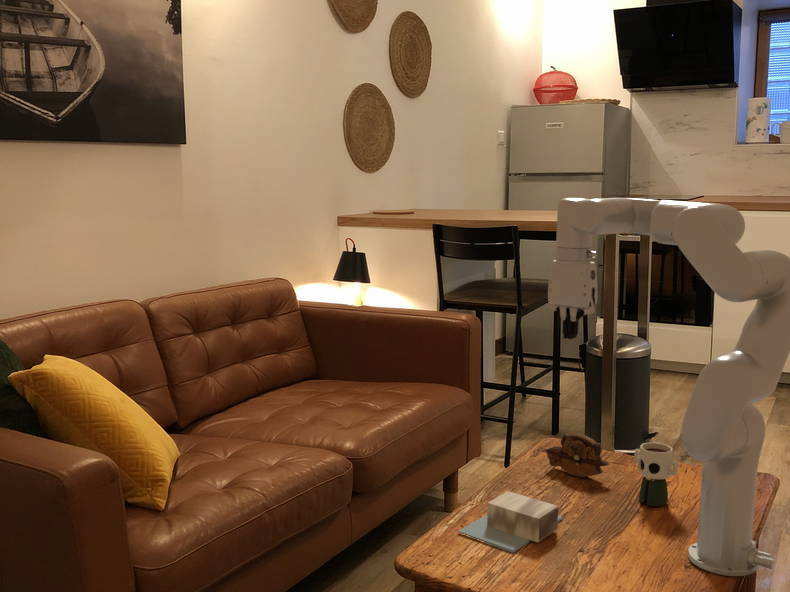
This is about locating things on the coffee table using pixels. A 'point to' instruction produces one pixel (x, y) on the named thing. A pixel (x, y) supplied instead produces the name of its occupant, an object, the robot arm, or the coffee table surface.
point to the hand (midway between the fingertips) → (570, 337)
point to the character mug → (655, 471)
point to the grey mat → (495, 535)
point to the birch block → (522, 516)
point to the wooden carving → (577, 456)
